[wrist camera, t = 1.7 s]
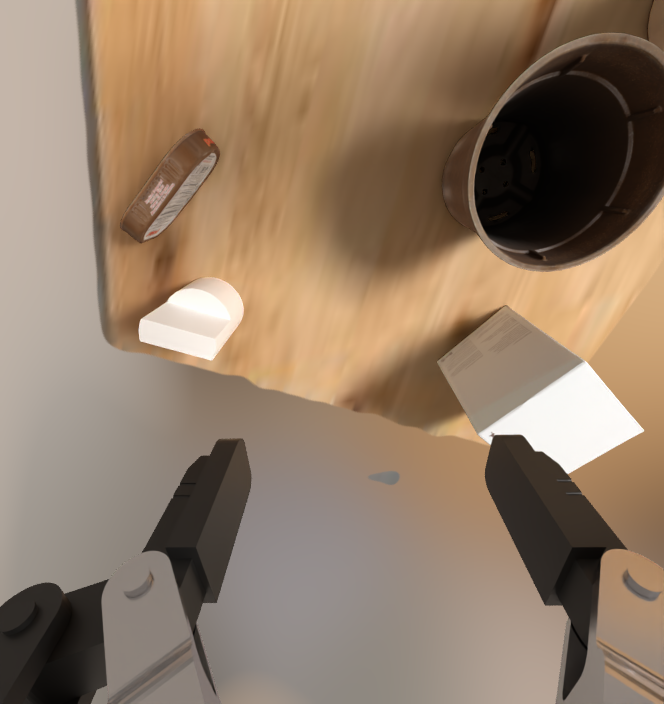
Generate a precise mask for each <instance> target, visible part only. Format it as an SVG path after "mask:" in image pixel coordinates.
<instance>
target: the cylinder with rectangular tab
mask: <svg viewBox="0 0 664 704" xmlns="http://www.w3.org/2000/svg"><path fill="white" fill-rule="evenodd" d="M243 309H244V308H243V303H242V300H241V298H240V296H239V294H238V292H237V291H236V290H235V289H234V288H233V287H232V286H231V285H230V284H228V283H227V282H225V281H223V280H221V279H218V278H214V277H202V278H199V279H197V280H194V281H193V282H191V283H190V284H188V285H186V286H185V287H183V288H182V289H180V290H179V291H177V292H175V293H174V294H173V295H172V296H171V297H170V298H169V299H168V301H167V302H166V303H164V304H163V305H161V306H160V307H158V308H157V309H155V310H154V311H152V312H151V313H149V314H148V315H146V316H145V317H143V318H142V319H141V320H140V324H139V329H138V330H139V339H140V341H141V342H145V343H149V344H152V345H156V346H160V347H163V348H167V349H171V350H175V351H178V352H182V353H186V354H189V355H193V356H197V357H201V358H204V359H208V360H213V358H214V357H215V356H216V354H217V353H218V352H219V350H220V349H221V348H222V346H223V345H224V344H225V342H226V341H227V340H228V338H229V337H230V336H231V334H232V333H233V332H234V330H235V329H236V328H237V326H238V325H239V324H240V322H241V320H242V317H243Z"/></svg>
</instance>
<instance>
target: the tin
mask: <svg viewBox="0 0 664 704" xmlns="http://www.w3.org/2000/svg"><path fill="white" fill-rule="evenodd" d="M219 156H220V151H219V149H218V147H217V146H216V144H215V143H214V142H213V141H212V140H211V139H210V138H209V137H208V136H207V135H206V134H205V131H204V130H203V129H195V130H193V131H191V132H189V133H187V134H186V135H185V136H183V137H182V138H181V139H180V140H179V141H178V142H177V143H176V144H175V145H174V146H173V147H172V148H171V149H170V150H169V152H168V153H167V154H166V155H165V157H164V158H163V159H162V161H161V162H160V164H159V165H158V167H157V168H156V169H155V171H154V172H153V174H152V175H151V176H150V178H149V179H148V181H147V182H146V183H145V185H144V186H143V188H142V189H141V190H140V192H139V193H138V195H137V196H136V197H135V199H134V200H133V202H132V203H131V204H130V206H129V207H128V208H127V210H126V211H125V213H124V215H123V217H122V219H121V223H120V228H121V229H122V230H124V231H126V232H127V233H128V234H129V235H130V236H132V237H133V238H134V239H135V240H137V241H138V242H140V243H143V242H146V241H148V240H150V239H153V238H155V237H157V236H158V235H159V234H161V233H162V232H163V231H164V230H165V229H166V228H167V227H168V226H169V225H170V224H171V223H172V222H173V220H174V219H175V218H176V217H177V216H178V214H179V213H180V212H181V211H182V209H183V208H184V207H185V206H186V204H187V203H188V202H189V201H190V200H191V198H192V197H193V196H194V194H195V193H196V192H197V191H198V189H199V188H200V187H201V185H202V184H203V183H204V181H205V180H206V179H207V178H208V176H209V175H210V173H211V172H212V170H213V169H214V167H215V166H216V164H217V162H218V159H219Z"/></svg>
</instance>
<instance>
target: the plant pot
mask: <svg viewBox="0 0 664 704" xmlns="http://www.w3.org/2000/svg"><path fill="white" fill-rule="evenodd" d="M495 127H497V128H498V131H497V133H495V134H492V133H491V134H490V135H487V133H488V131H489V129H491V128H495ZM486 135H487V136H486ZM531 150H534V153H535V158H536V171H535V173H532V170H531V164H532V162H531V159H530V155H529V153H530V151H531ZM502 159H505V160H506V164H505V165H501V162H500V161H501V160H502ZM481 167H484V172H483V173H480V172H479V169H480V168H481ZM505 181H508V186H507V187H504V186H503V183H504V182H505ZM483 189H487V194H485V195H484V194H483V193H482V191H483ZM442 190H443V197H444V201H445V204H446V207H447V209H448V210H449V212H450V214H451V215H452V216H453V217H454V218H455V219H456V220H457V221H458V222H459V223H461V224H462V225H464V226H465V227H468V228H469V229H471V230H473V231H474V232H476V233H477V234H478V235H479V237H480V239H481V240H482V241H483V243H484V244H485V245H486V246H487V247H488V248H489V249H490V250H491V251H492V252H493V253H494V254H495V255H496V256H497V257H499V258H500V259H502V260H503V261H505V262H507V263H508V264H510V265H513V266H515V267H518V268H522V269H526V270H531V271H540V272H549V271H558V270H564V269H568V268H572V267H575V266H578V265H581V264H584V263H586V262H588V261H591V260H593V259H595V258H597V257H599V256H601V255H602V254H604V253H606V252H607V251H609V250H611V249H612V248H614V247H615V246H616V245H618V244H619V243H620V242H622V241H623V240H624V239H625V238H627V237H628V236H629V235H630V234H631V233H632V232H633V231H635V230H636V229H637V228H638V227H639V226H640V225H641V224H642V223H643V222H644V221H645V220H646V218H647V217H648V216H649V215H650V214H651V212H652V211H653V210H654V209H655V207H656V206H657V205H658V203H659V202H660V200H661V199H662V197H663V196H664V52H663V51H662V50H661V49H660V48H658V47H657V46H656V45H654V44H653V43H651V42H649V41H647V40H645V39H642V38H640V37H637V36H633V35H630V34H624V33H599V34H593V35H589V36H585V37H582V38H579V39H576V40H573V41H571V42H568V43H566V44H564V45H562V46H560V47H558V48H556V49H554V50H552V51H551V52H549V53H548V54H546V55H544V56H543V57H541V58H540V59H539V60H537V61H536V62H535V63H534V64H532V65H531V66H530V67H529V68H528V69H527V70H525V71H524V72H523V73H522V74H521V75H520V76H519V77H518V78H517V79H516V80H515V81H514V82H513V83H512V84H511V85H510V86H509V88H508V89H507V90H506V91H505V92H504V94H503V95H502V96H501V97H500V98H499V100H498V101H497V103H496V104H495V106H494V107H493V109H492V110H491V112H490V113H489V115H488V116H487V117H486V118H484V119H483V120H482V121H481V122H479V123H478V124H477V125H476V126H475V127H473V128H472V129H471V130H469V131H468V132H467V133H466V134H465V135H464V136H463V137H462V138H461V139H460V140H459V141H458V142H457V144H456V145H455V147H454V149H453V151H452V152H451V154H450V156H449V158H448V160H447V162H446V165H445V168H444V173H443V179H442ZM505 211H507V212H508V215H507V216H505V217H503V218H500V219H497V220H494V221H488V218H490V217H493V216H496V215H498V214H501V213H503V212H505Z"/></svg>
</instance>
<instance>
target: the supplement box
mask: <svg viewBox="0 0 664 704" xmlns="http://www.w3.org/2000/svg"><path fill="white" fill-rule="evenodd" d="M437 363H438V365H439V367H440V369H441V371H442V372H443V374H444V376H445V378H446V379H447V381H448V383H449V385H450V386H451V388H452V390H453V392H454V393H455V395H456V397H457V399H458V401H459V402H460V404H461V406H462V408H463V409H464V411H465V413H466V415H467V416H468V418H469V420H470V422H471V424H472V425H473V427H474V429H475V431H476V433H477V435H479V436H480V437H481V438H482V439H483V440H485V441H486V442H487V443H488V444H490V445H491V443H492V439H493V437H494V436H495V435H515V434H520V435H523V436H524V437H525V438H526V439H527V441H528V442H529V444H530V445H531V446H532V448H533V449H534V450H535V451H542V452H544V453H545V454H546V455H548V456H549V457H550V458H552V459H553V460H554V461H556V462H557V463H558V464H560V466H561V467H562V468H563V469H564V471H565V472H566V473H567V474H568V473H570V472H572V471H574V470H575V469H577V468H579V467H581V466H582V465H584V464H586V463H588V462H589V461H591V460H593V459H595V458H596V457H598V456H600V455H602V454H603V453H605V452H607V451H609V450H610V449H612V448H614V447H616V446H618V445H619V444H621V443H623V442H625V441H626V440H628V439H630V438H632V437H634V436H636V435H637V434H639V433H641V432H643V431H644V430H643V429H642V427H641V426H640V425H639V424H638V423H637V422H636V421H635V420H634V418H633V417H632V416H631V415H630V414H629V413H628V412H627V410H626V409H625V408H624V407H623V405H622V404H621V403H620V402H619V401H618V399H617V398H616V397H615V396H614V395H613V393H612V392H611V391H610V390H609V389H608V387H607V386H606V385H605V384H604V383H603V381H602V380H601V379H600V378H599V377H598V375H597V374H596V373H595V372H594V370H593V369H592V368H591V367H590V366H589V365H588V363H587V362H586V361H585V360H583V359H582V358H580V357H579V356H577V355H576V354H574V353H573V352H572V351H570V350H569V349H567V348H566V347H564V346H563V345H561V344H560V343H558V342H557V341H556V340H554V339H553V338H552V337H550V336H549V335H547V334H546V333H544V332H543V331H542V330H540V329H539V328H537V327H536V326H534V325H533V324H532V323H530V322H529V321H528V320H526V319H525V318H523V317H522V316H521V315H519V314H518V313H516V312H515V311H513V310H512V309H511V308H510V307H509V306H504V307H503V308H502V309H500V310H499V311H498V312H497V313H496V314H494V315H493V316H492V317H491V318H489V319H488V320H487V321H486V322H485V323H483V324H482V325H481V326H480V327H478V328H477V329H476V330H475V331H474V332H472V333H471V334H470V335H469V336H467V337H466V338H465V339H464V340H463V341H461V342H460V343H459V344H458V345H456V346H455V347H454V348H453V349H452V350H450V351H449V352H448V353H447V354H445V355H444V356H443V357H442V358H441V359H439V360H438V361H437Z"/></svg>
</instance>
